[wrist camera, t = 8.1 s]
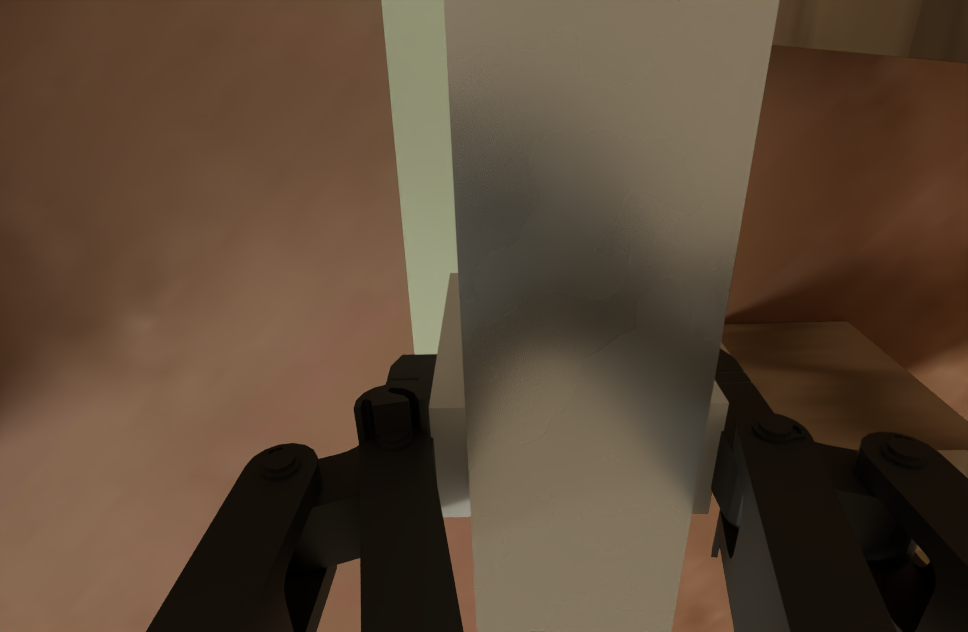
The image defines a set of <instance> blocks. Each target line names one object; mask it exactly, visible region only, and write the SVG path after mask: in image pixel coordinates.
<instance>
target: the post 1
mask: <svg viewBox="0 0 968 632" xmlns="http://www.w3.org/2000/svg"><path fill="white" fill-rule="evenodd" d="M772 45H778V46H788V47H799V48H810V49H821V50H832V51H843V52H853V53H864V54H875V55H886V56H897V57H908V58H918V59H929V60H940V61H951V62H962V63H968V0H779V6H778V12H777V18H776V23H775V29H774V35H773V41H772Z"/></svg>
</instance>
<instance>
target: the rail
mask: <svg viewBox="0 0 968 632" xmlns="http://www.w3.org/2000/svg"><path fill="white" fill-rule="evenodd" d="M778 6H779V0H444V14H445V33H446V52H447V71H448V90H449V109H450V128H451V147H452V166H453V185H454V205H455V224H456V243H457V262H458V281H459V300H460V319H461V338H462V357H463V376H464V395H465V414H466V433H467V452H468V472H469V491H470V510H471V529H472V548H473V567H474V586H475V605H476V624H477V632H671V631H672V625H673V619H674V613H675V607H676V602H677V596H678V590H679V584H680V578H681V572H682V566H683V561H684V555H685V549H686V543H687V537H688V531H689V526H690V520H691V514H692V508H693V502H694V496H695V491H696V485H697V479H698V473H699V467H700V461H701V456H702V450H703V444H704V438H705V432H706V426H707V421H708V415H709V409H710V403H711V397H712V391H713V385H714V380H715V374H716V368H717V362H718V356H719V350H720V345H721V339H722V333H723V327H724V321H725V315H726V310H727V304H728V298H729V292H730V286H731V280H732V275H733V269H734V263H735V257H736V251H737V245H738V240H739V234H740V228H741V222H742V216H743V210H744V204H745V199H746V193H747V187H748V181H749V175H750V169H751V164H752V158H753V152H754V146H755V140H756V134H757V129H758V123H759V117H760V111H761V105H762V99H763V94H764V88H765V82H766V76H767V70H768V64H769V58H770V53H771V47H772V41H773V35H774V29H775V23H776V18H777V12H778Z"/></svg>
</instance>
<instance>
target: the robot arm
mask: <svg viewBox="0 0 968 632" xmlns="http://www.w3.org/2000/svg"><path fill="white" fill-rule="evenodd" d="M354 414H355V420H356V427H357V433H358V440H359V445H358V446H357V447H355V448H353V449H351V450H349V451H347V452H344V453H340V454H337V455H333V456H329V457H325V458H320V459H318V457H317V455H316V453H315V451H314V450H313V449H311V448H310V447H308V446H306V445H302V444H295V443H290V444H281V445H277V446H274V447H271V448H268V449H265V450H264V451H262V452H261V453H259V454H257V455H256V456H254V457H253V458H252V459H251V460H250V461H249V463H248V464H247V465H246V466H245V468H244V469H243V471H242V473H241V474H240V476H239V478H238V479H237V481H236V483H235V484H234V486H233V488H232V489H231V491H230V493H229V494H228V496H227V498H226V499H225V501H224V503H223V504H222V506H221V508H220V509H219V511H218V513H217V514H216V516H215V518H214V519H213V521H212V523H211V524H210V526H209V528H208V529H207V531H206V533H205V534H204V536H203V538H202V539H201V541H200V543H199V544H198V546H197V548H196V549H195V551H194V552H193V554H192V556H191V557H190V559H189V561H188V562H187V564H186V566H185V567H184V569H183V571H182V572H181V574H180V576H179V577H178V579H177V581H176V582H175V584H174V586H173V587H172V589H171V591H170V592H169V594H168V596H167V597H166V599H165V601H164V602H163V604H162V606H161V607H160V609H159V611H158V612H157V614H156V616H155V617H154V619H153V621H152V622H151V624H150V626H149V627H148V629H147V631H146V632H316V631H317V628H318V625H319V622H320V619H321V616H322V612H323V609H324V606H325V603H326V600H327V597H328V594H329V591H330V588H331V585H332V582H333V578H334V575H335V572H336V569H337V564H341V563H344V562H348V561H351V560H354V559H358V558H360V568H361V632H463V626H462V621H461V615H460V610H459V604H458V599H457V593H456V587H455V582H454V576H453V571H452V565H451V559H450V554H449V548H448V543H447V537H446V532H445V526H444V520H443V517H471V510H470V491H469V472H468V452H467V433H466V414H465V395H464V376H463V357H462V338H461V319H460V300H459V281H458V273H450V277H449V283H448V289H447V296H446V302H445V308H444V315H443V321H442V327H441V333H440V340H439V346H438V352H437V354H418V355H402V356H401V357H400V358H399V359H398V360H397V361H396V362H395V363H394V364H393V365H392V366H391V368H390V371H389V375H388V378H387V382H386V385H383V386H379V387H375V388H373V389H371V390H369V391H367V392H365V393H363V394H362V395H361V396H360V397H359V398H358V399H357V400H356V403H355V406H354ZM712 492H713V494H714V496H715V498H716V501H717V503H718V505H719V507H720V512H719V517H718V522H717V527H716V532H715V537H714V542H713V547H712V555H711V557H717V556H718V551H719V548H720V550H721V556H722V562H723V568H724V574H725V580H726V585H727V591H728V597H729V603H730V609H731V614H732V620H733V626H734V632H968V478H967V477H966V476H965V475H964V474H963V473H961V472H960V471H959V470H958V469H957V468H956V467H955V466H954V465H953V464H952V463H951V462H949V461H948V460H947V459H946V458H945V457H944V456H943V455H942V454H941V453H939V452H938V451H937V450H935V449H934V448H932V447H931V446H930V445H928V444H926V443H924V442H922V441H920V440H918V439H915V438H913V437H911V436H908V435H903V434H900V433H895V432H881V431H880V432H874V433H869V434H867V435H866V436H865V437H864V438H862V440H861V443H860V446H859V449H858V450H853V449H848V448H842V447H837V446H831V445H826V444H822V443H818V442H814V440H813V437H812V435H811V434H810V433H809V431H808V430H807V429H806V427H804V426H803V425H801V424H800V423H798V422H797V421H795V420H794V419H791V418H789V417H786V416H784V415H781V414H776V413H774V412H773V410H772V409H771V408H770V406H769V405H768V403H767V402H766V401H765V399H764V398H763V397H762V395H761V394H760V392H759V391H758V390H757V388H756V387H755V385H754V384H753V383H751V380H750V378H749V377H748V376H747V374H746V373H744V370H743V369H742V367H741V366H740V364H739V363H738V362H737V360H736V359H735V358H734V357H733V356H731V355H730V354H728V353H727V352H725V351H724V350H722V349H720V350H719V356H718V362H717V368H716V374H715V380H714V385H713V391H712V397H711V403H710V409H709V415H708V421H707V426H706V432H705V438H704V444H703V450H702V456H701V461H700V467H699V473H698V479H697V485H696V491H695V496H694V502H693V508H692V514H708V512H709V507H710V501H711V496H712ZM917 546H919V547H920V549H921V550H922V551H923V552H924V553H925V554H926V556H927V557H928V559H929V560H930V562H929V563H928V565H927V564H926V563H925V562H924V561H923V560H922V559H921V558H920V557H919V556H918V555H917V553H916V552H915V551H916V548H917Z"/></svg>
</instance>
